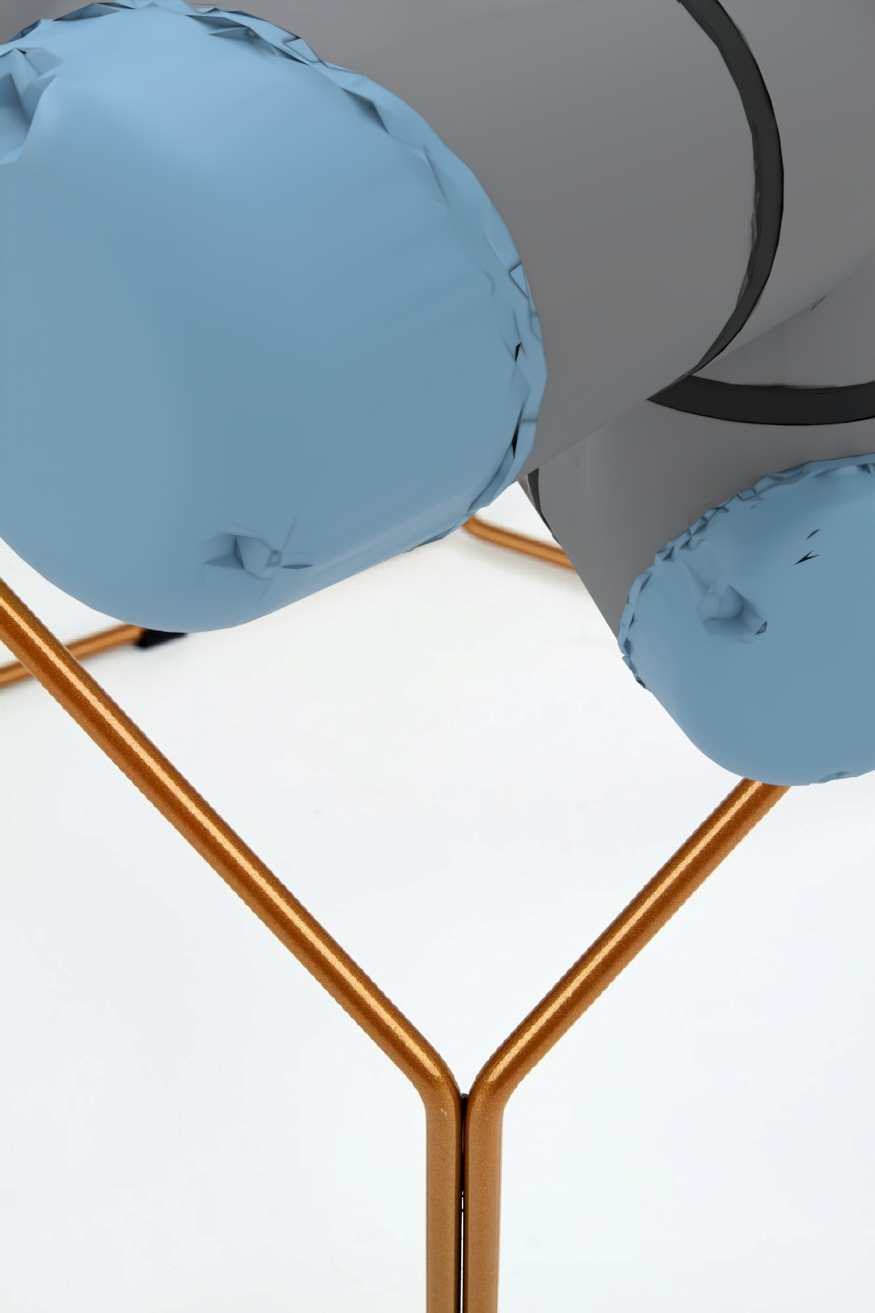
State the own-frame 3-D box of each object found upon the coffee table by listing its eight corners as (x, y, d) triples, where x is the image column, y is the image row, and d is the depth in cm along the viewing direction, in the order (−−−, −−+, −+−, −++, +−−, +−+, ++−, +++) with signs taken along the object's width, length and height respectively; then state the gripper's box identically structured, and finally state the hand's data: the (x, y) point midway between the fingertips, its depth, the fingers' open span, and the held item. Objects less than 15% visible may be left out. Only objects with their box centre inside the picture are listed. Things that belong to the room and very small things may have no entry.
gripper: (388, 525, 43) (269, 264, 63) (804, 470, 46) (567, 235, 65) (378, 272, 39) (254, 76, 58) (836, 227, 42) (573, 53, 61)
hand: (419, 160), depth 62 cm, fingers closed
